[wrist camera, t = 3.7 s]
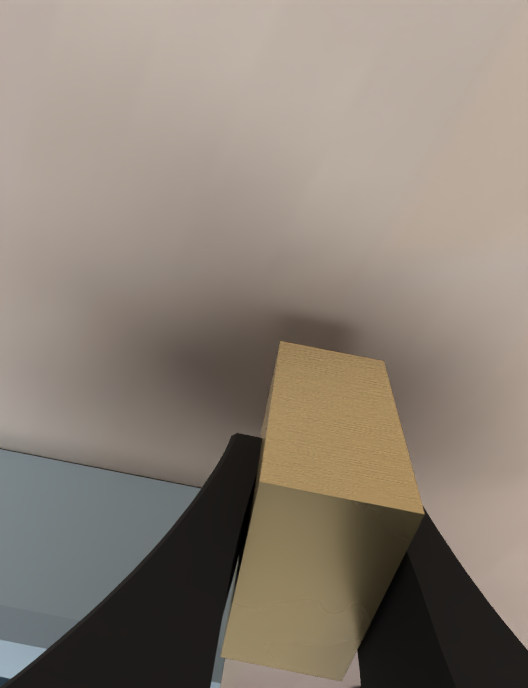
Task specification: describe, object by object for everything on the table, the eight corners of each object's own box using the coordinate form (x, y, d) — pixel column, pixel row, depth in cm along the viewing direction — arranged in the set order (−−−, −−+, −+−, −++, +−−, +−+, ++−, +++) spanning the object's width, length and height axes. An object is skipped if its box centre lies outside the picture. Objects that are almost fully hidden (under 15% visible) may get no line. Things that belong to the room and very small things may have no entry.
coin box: (250, 498, 17) (220, 683, 11) (217, 652, 22) (186, 826, 17) (-15, 446, 17) (-166, 607, 11) (17, 612, 22) (-76, 773, 17)
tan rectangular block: (384, 360, 11) (424, 514, 7) (333, 505, 13) (341, 681, 9) (280, 340, 11) (259, 481, 7) (249, 489, 13) (220, 657, 9)
